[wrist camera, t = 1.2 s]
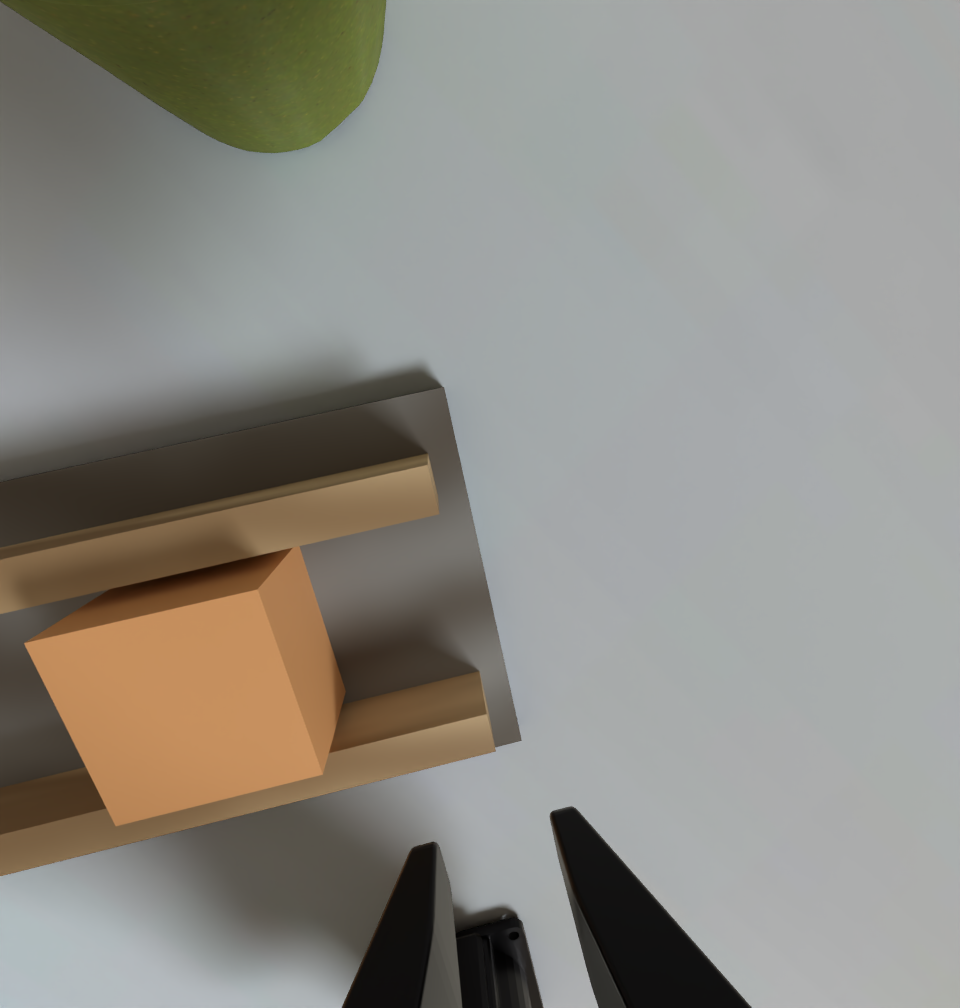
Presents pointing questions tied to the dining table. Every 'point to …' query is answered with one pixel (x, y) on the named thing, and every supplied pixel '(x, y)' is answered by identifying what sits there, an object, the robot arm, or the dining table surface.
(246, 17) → the plant pot
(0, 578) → the chute
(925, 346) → the dining table surface
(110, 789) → the orange block
